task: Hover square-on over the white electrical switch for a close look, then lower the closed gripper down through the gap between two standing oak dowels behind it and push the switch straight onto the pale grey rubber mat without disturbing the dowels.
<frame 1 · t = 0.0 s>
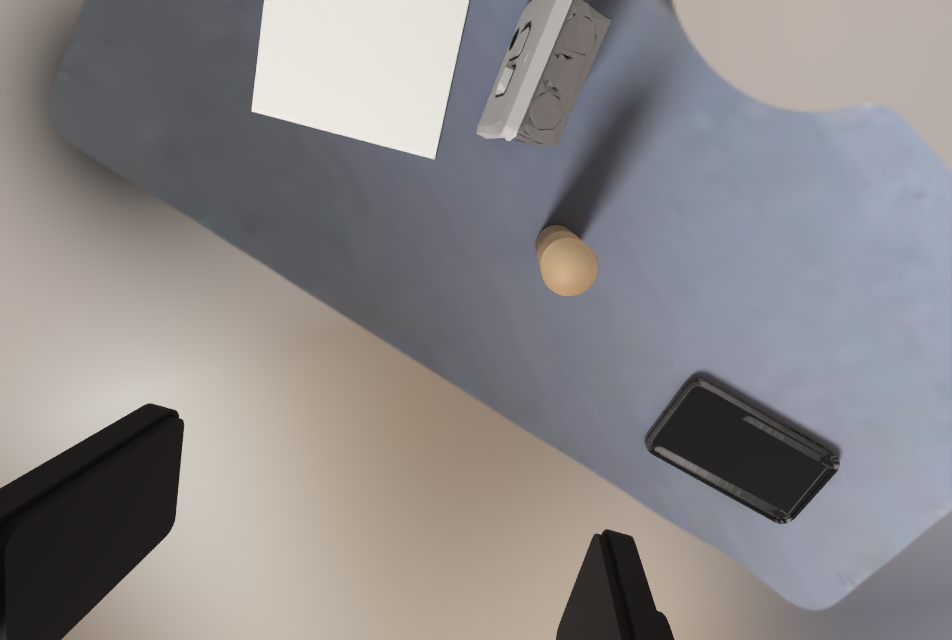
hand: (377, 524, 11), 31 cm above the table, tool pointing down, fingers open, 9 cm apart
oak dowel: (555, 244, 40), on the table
mat: (359, 39, 37), on the table
electrical switch: (533, 85, 37), on the table
phone: (735, 446, 43), on the table
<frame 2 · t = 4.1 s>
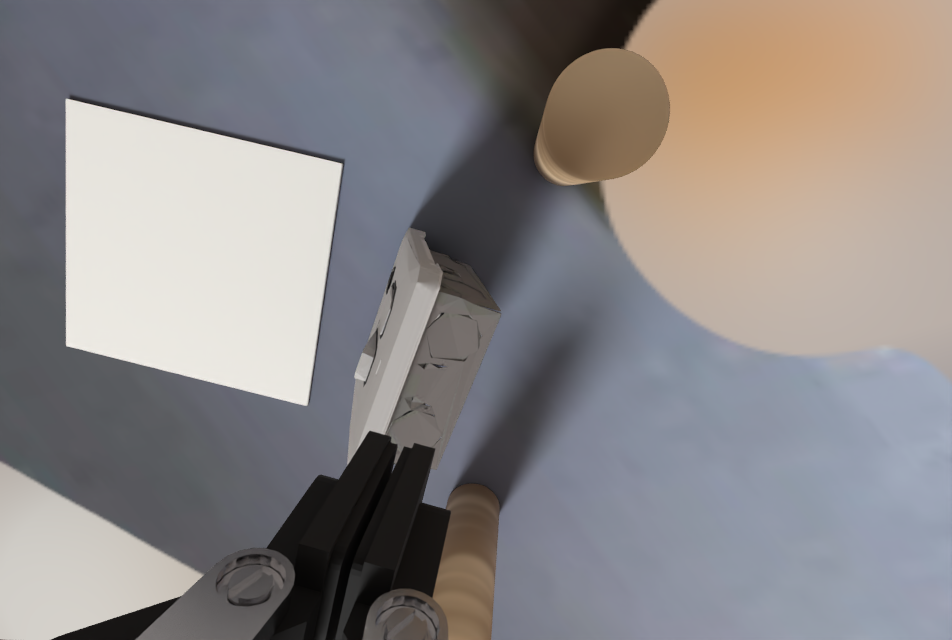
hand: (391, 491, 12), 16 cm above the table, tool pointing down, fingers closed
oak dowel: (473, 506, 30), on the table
mat: (195, 261, 28), on the table
electrical switch: (429, 316, 27), on the table
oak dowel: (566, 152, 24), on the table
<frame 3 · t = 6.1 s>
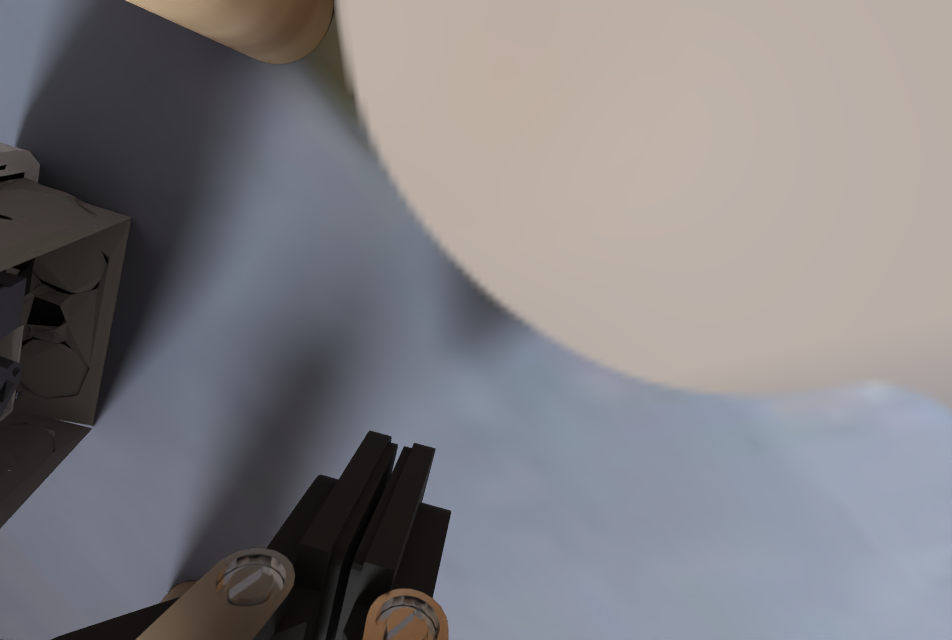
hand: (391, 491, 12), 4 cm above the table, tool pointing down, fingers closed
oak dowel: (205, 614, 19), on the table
electrical switch: (87, 308, 16), on the table
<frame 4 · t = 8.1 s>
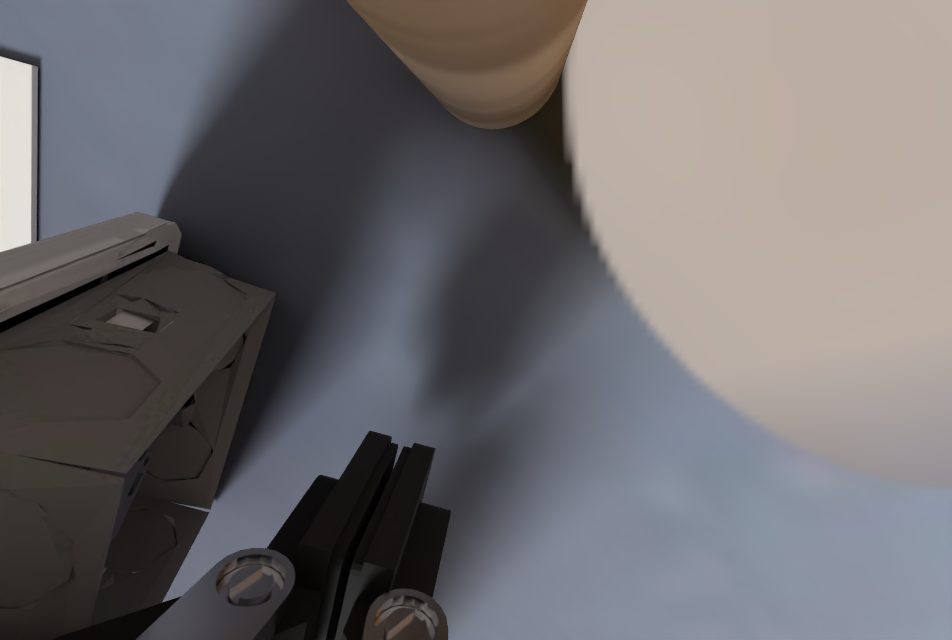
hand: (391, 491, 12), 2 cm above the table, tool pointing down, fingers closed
electrical switch: (215, 385, 14), on the table, touching gripper
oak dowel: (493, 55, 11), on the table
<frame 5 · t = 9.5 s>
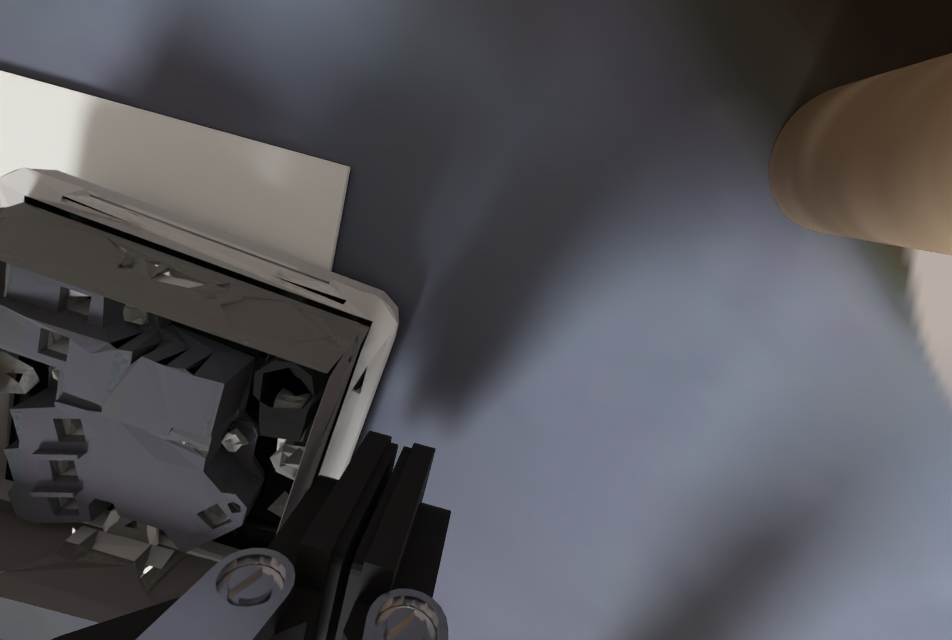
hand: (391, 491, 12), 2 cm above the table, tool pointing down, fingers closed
mat: (54, 344, 14), on the table
electrical switch: (316, 500, 11), point 3 cm above the table, touching gripper, mat
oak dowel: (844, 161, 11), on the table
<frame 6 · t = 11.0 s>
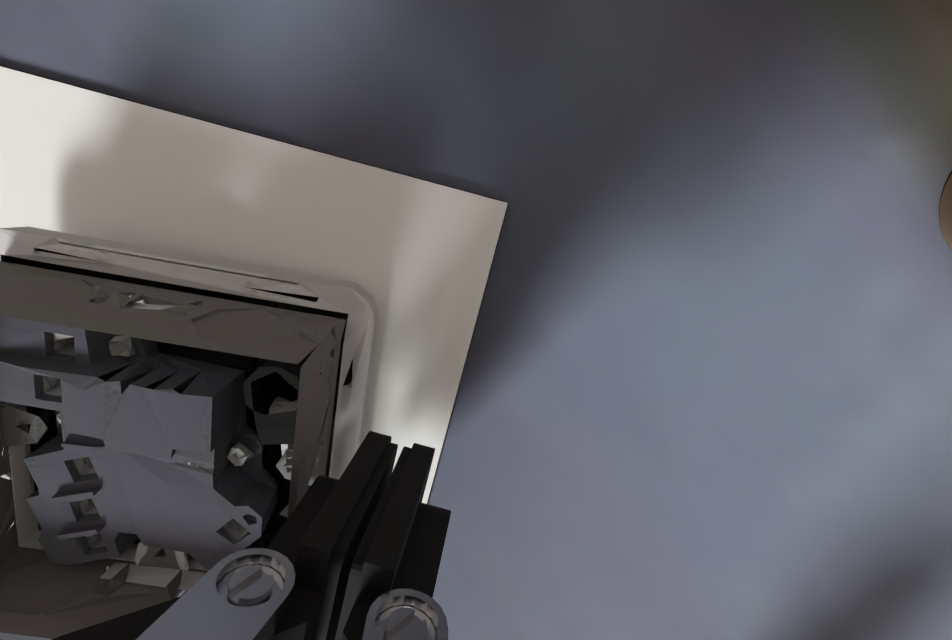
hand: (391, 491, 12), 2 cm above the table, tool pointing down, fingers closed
mat: (190, 377, 14), on the table
electrical switch: (322, 496, 11), point 3 cm above the table, touching gripper, mat
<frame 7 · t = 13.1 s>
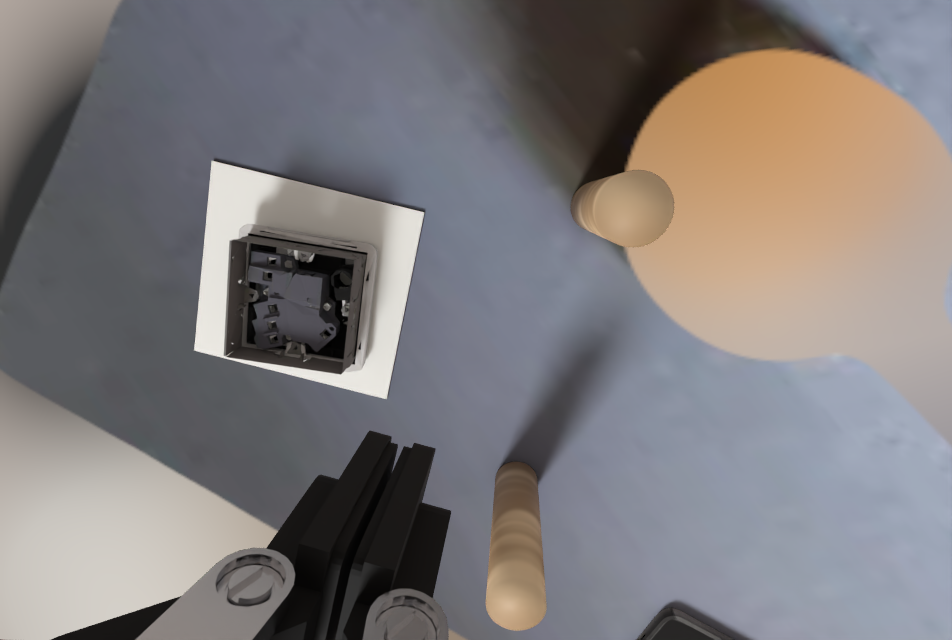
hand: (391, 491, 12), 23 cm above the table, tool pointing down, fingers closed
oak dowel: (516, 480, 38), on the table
mat: (303, 284, 35), on the table
electrical switch: (359, 313, 32), point 3 cm above the table, touching mat
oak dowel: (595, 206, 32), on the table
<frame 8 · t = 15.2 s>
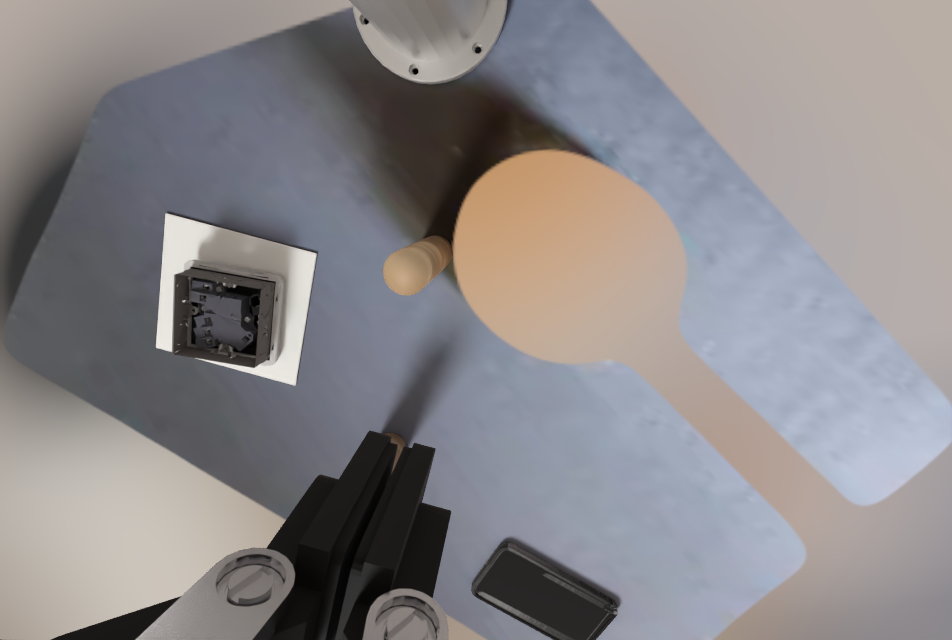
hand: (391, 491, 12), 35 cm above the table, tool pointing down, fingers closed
mat: (233, 302, 49), on the table
electrical switch: (267, 325, 46), point 3 cm above the table, touching mat
phone: (543, 591, 55), on the table
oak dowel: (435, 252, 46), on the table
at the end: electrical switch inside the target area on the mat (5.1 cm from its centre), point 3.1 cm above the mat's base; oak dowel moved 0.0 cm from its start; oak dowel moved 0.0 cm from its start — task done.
